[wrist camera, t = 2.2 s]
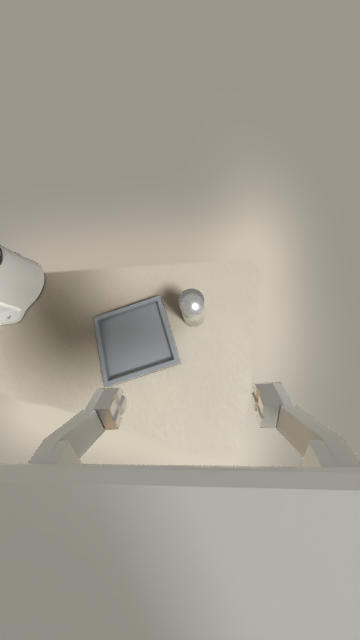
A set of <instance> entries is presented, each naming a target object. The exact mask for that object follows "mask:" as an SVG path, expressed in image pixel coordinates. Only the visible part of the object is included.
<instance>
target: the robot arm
mask: <svg viewBox="0 0 360 640" xmlns="http://www.w3.org/2000/svg"><path fill="white" fill-rule="evenodd" d="M43 285H44V272H43V269H42V267H41V266H40V265H39V264H38V263H36V262H35V261H32V260H29V259H27V258H24V257H22V256H21V255H20V254H18V253H16V252H12V251H10V250H8V249H6V248H4V247H3V246H1V245H0V325H5V324H12V323H17V322H19V321H20V320H21V319H22V318H23V316H24V314H25V312H26V310H27V309H28V308H29V307H30V306H31V305H32V303H33V302H34V301H35V300H36V299H37V298H38V296H39V294H40V293H41V291H42V288H43ZM253 390H254V392H253V393H252V402H253V406H254V409H255V411H257V419H258V421H259V425H260V427H261V428H277V430H278V431H279V432H280V433H281V434H282V435H283V436H284V437H285V438H286V439H287V440H288V441H289V442H290V443H291V445H292V446H293V447H294V448H295V449H296V450H297V451H298V452H299V453H300V454H301V455H302V456H303V457H304V459H303V462H302V465H301V467H287V466H286V467H285V466H283V467H282V466H281V467H280V466H277V467H276V466H201V465H197V466H195V465H193V466H192V465H111V464H83V463H82V461H81V460H80V457H81V456H82V455H83V454H84V453H85V452H86V451H87V450H88V449H89V448H90V446H91V445H92V444H93V443H94V442H95V441H96V440H97V439H98V438H99V437H100V435H101V434H102V433H103V432H104V431H105V430H112V429H118V428H119V426H120V423H121V420H122V418H121V415H122V414H123V413H124V412H125V409H126V398H125V396H123V395H122V394H123V390H122V388H98V389H97V390H96V391H95V393H94V395H93V397H92V398H91V400H90V402H89V403H88V405H87V407H86V409H85V410H82V411H81V412H79V413H78V414H77V415H75V416H74V417H73V418H72V419H70V420H69V421H68V422H66V423H65V424H64V425H63V426H61V427H60V428H58V429H57V430H56V431H55V432H53V433H52V434H51V435H49V436H48V437H47V438H45V439H44V440H43V442H42V443H41V445H40V446H39V447H38V449H37V450H36V452H35V453H34V455H33V456H32V458H31V459H30V460H29V462H28V463H25V464H24V463H0V640H360V461H359V460H358V459H357V457H356V456H355V454H354V453H353V451H352V450H351V448H350V447H349V446H348V444H347V443H346V441H345V440H344V439H343V438H342V437H341V436H339V435H338V434H336V433H335V432H333V431H332V430H331V429H329V428H328V427H326V426H325V425H324V424H322V423H321V422H320V421H318V420H317V419H315V418H314V417H313V416H311V415H310V414H308V413H307V412H305V411H304V410H302V409H301V408H300V407H298V406H296V405H294V404H293V403H292V401H291V399H290V397H289V395H288V393H287V392H286V390H285V388H284V386H283V384H282V383H281V382H265V383H253Z"/></svg>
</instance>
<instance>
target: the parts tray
mask: <svg viewBox="0 0 360 640" xmlns="http://www.w3.org/2000/svg"><path fill="white" fill-rule="evenodd" d="M93 320H94V326H95V332H96V339H97V345H98V351H99V357H100V364H101V370H102V376H103V382H104V387H110V386H113V385H116V384H120V383H123V382H126V381H129V380H132V379H135V378H138V377H141V376H144V375H147V374H150V373H153V372H156V371H159V370H162V369H166V368H169V367H172V366H175V365H178V364H181V361H180V358H179V355H178V351H177V348H176V345H175V341H174V338H173V335H172V331H171V328H170V325H169V321H168V318H167V315H166V311H165V308H164V305H163V301H162V298H161V297H160V295H159V296H156V297H153V298H150V299H147V300H144V301H141V302H138V303H135V304H132V305H130V306H127V307H124V308H121V309H118V310H115V311H112V312H109V313H106V314H103V315H100V316H97V317H94V318H93Z"/></svg>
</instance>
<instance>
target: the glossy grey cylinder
mask: <svg viewBox="0 0 360 640" xmlns="http://www.w3.org/2000/svg"><path fill="white" fill-rule="evenodd" d="M178 303H179V307H180V310H181V312H182V315H183V318H184V321H185V323H186V324H188V325H189V326H198V325H200V324H201V323H202V322H203V320H204V297H203V295H202V293H201V292H200V291H198V290H196V289H187V290H185V291H183V292H182V293H181V294H180V296H179V299H178Z"/></svg>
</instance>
